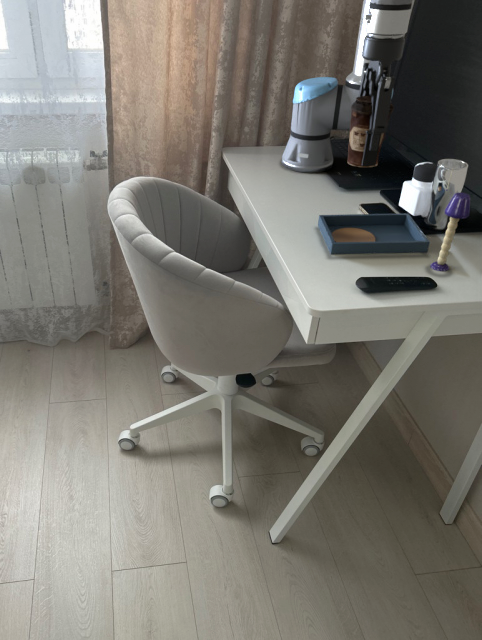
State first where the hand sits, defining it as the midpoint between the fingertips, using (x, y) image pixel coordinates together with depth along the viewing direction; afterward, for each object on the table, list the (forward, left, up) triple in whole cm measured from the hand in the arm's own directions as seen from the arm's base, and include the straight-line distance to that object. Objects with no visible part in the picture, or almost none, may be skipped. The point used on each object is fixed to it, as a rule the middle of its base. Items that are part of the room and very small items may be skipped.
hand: (363, 158), depth 120 cm
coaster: (+1, +1, -18) cm, 18 cm away
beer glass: (-7, +23, -19) cm, 31 cm away
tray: (+1, +5, -19) cm, 19 cm away
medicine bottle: (-15, +21, -19) cm, 32 cm away
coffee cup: (0, 0, -1) cm, 1 cm away
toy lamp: (+15, +16, -19) cm, 29 cm away
